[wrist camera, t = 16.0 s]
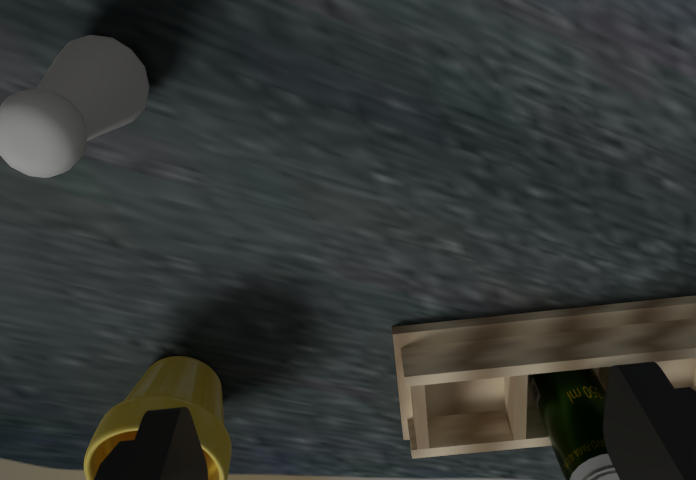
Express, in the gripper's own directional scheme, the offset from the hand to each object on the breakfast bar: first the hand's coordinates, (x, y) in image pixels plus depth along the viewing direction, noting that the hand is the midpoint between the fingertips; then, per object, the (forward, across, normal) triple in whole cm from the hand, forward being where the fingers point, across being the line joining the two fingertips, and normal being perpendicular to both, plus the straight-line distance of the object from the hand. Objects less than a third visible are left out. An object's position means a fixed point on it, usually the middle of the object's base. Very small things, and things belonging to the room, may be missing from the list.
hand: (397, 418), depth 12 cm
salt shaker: (+33, +16, 0) cm, 37 cm away
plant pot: (+33, +18, +27) cm, 46 cm away
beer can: (+32, -14, +29) cm, 46 cm away
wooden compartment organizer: (+33, -14, +29) cm, 46 cm away
